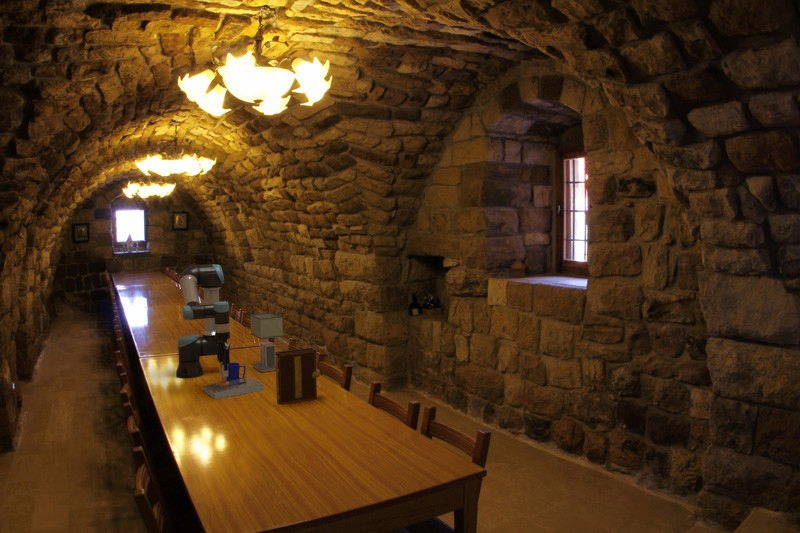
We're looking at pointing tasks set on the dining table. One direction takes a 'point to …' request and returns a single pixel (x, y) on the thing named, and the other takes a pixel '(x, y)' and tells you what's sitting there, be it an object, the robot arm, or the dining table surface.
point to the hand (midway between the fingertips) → (224, 375)
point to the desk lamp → (264, 329)
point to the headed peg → (223, 378)
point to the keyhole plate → (233, 388)
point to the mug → (234, 371)
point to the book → (296, 375)
